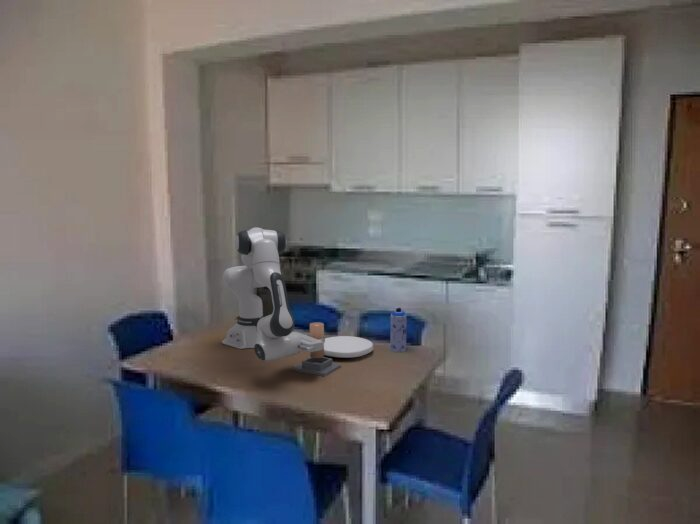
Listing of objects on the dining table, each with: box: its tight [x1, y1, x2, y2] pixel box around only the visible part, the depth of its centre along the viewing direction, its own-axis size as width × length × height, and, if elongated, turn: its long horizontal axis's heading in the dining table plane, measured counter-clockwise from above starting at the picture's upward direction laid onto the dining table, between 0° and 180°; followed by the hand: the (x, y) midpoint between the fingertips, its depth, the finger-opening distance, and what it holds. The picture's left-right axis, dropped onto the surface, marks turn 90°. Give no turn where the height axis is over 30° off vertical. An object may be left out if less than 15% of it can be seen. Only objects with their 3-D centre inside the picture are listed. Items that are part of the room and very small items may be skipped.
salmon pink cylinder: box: [309, 321, 325, 358], centre depth 253 cm, size 6×6×14 cm
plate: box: [324, 335, 374, 359], centre depth 277 cm, size 28×6×27 cm
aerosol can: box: [389, 307, 407, 353], centre depth 279 cm, size 8×8×20 cm
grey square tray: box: [292, 356, 342, 377], centre depth 255 cm, size 16×13×4 cm
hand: (318, 338), depth 253 cm, fingers closed on salmon pink cylinder, 6 cm apart
